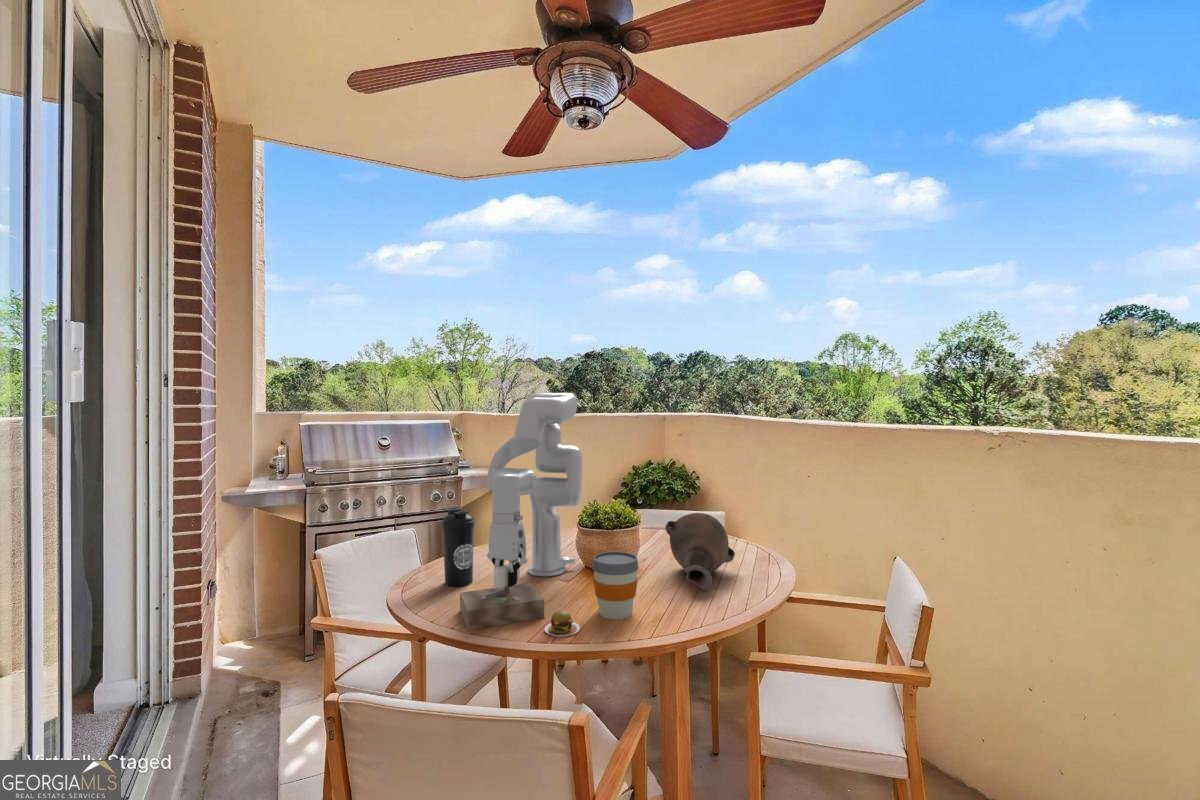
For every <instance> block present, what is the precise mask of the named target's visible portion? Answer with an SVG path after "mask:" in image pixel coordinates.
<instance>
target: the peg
mask: <svg viewBox="0 0 1200 800" xmlns="http://www.w3.org/2000/svg"><path fill="white" fill-rule="evenodd" d="M508 572H510V569H509V563H508V564H504V566H500V567H496V568H495V567H494V568H493V588H501V587H504V589H503V590H500V591H497V592H493V593H490V594H487V595H486V597H490V596H493V595H496V594H500V593H503V592H509V591H510V590H509V586H508ZM520 579H521V578H520V569H519V570H517V584H518V583H520Z"/></svg>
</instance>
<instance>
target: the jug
mask: <svg viewBox="0 0 1200 800" xmlns="http://www.w3.org/2000/svg"><path fill="white" fill-rule="evenodd" d="M664 527H665V531H666V533H667V535H668V536H669V547H670V550H671V553H672V556H673V557H674V559H675V561H676V562H677V564H678V565H680V566H681V567H682V568H683V570H684V572H685V573H686V580H687V581H690V582H691V583H693V584H695V585H697V586H698V587H699V588H700V589H701V590H703V591H707V590H709V589H710V588H711V586H712V585H713V583H714V581H713V576H712V573H714V572H715V571H717V570H718V569H719V568H720V567H721V566H722V565H724V564H725V563H726V564H727V563H730V562H732V561H733V560H734V559H735V555H736V553H735V551H734V550H733V549H732V548H731V547H730V546H729V544H730V543H729V537H728V534H727V531H726V529H725V527H724V525H723V524H722V523H721V522H720V520H718V519H717V518H716V517H714V516H712V515H711V514H708V513H704V512H703V513H702V512H693V513H688V514H685V515H683V516H681V517H679V518H678V519H677V520H675V521H673V520H670V521H668V522H666V525H664Z"/></svg>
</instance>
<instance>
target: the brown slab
mask: <svg viewBox="0 0 1200 800" xmlns="http://www.w3.org/2000/svg"><path fill="white" fill-rule="evenodd" d="M503 589H504V587H501V588H497V587H493V588H491V587H490V588H485V589H479V590H471V591H463V592H459V611H460V614H461V616H462V619H463V622H464V623H465V626H466V629H467V631H472V630H479V629H486V628H491V627H497V626H503V625H509V624H515V623H516V624H517V623H522V622H527V621H528V622H529V621H533V620H534V621H535V620H539V619H540V620H541V619H545V599H544V597H543V595H541V593H540V592H539V591H538V590H537V588H535V586H534V585H533V584H532V583H531V582H529V583H521V584H520V583H519V584H516V585H513V586H511V587H509V590H510V591H509V592H503V593H500V594H496V595H493V596H490V597H486V595H487V594H490V593H493V592H497V591H500V590H503Z"/></svg>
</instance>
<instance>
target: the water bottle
mask: <svg viewBox="0 0 1200 800" xmlns="http://www.w3.org/2000/svg"><path fill="white" fill-rule="evenodd" d="M475 521H476V519H475V518H474V517H473V516H472V515H471V513H470V511H469V510H462V509H461V508H451V509H448V511H447V515H445V517H444V518H443V519H442V520H441V530H442V539H443V540H442V541H443V561H444V564H443V565H444V568H443V569H444V585H445V586H447V587H448V588H449V587H451V588H462V587H466V586H469V585H471V584H472V583H473V581H474V579H473V578H474V576H473V575H474V528H475V526H476V523H475Z"/></svg>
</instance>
